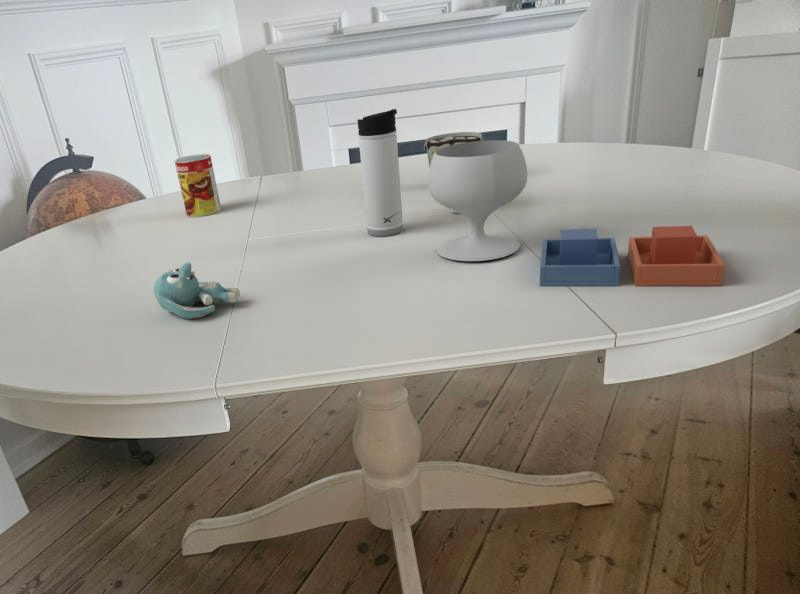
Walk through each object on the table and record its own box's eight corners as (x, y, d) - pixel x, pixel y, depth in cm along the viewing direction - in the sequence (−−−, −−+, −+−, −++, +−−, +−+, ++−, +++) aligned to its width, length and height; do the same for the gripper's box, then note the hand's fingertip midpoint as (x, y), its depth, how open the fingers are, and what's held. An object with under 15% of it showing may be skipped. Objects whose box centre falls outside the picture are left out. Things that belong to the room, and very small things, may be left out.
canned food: (184, 212, 145) (172, 158, 140) (218, 205, 147) (207, 152, 141) (189, 219, 138) (176, 163, 133) (224, 212, 140) (213, 156, 135)
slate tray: (613, 255, 87) (614, 237, 86) (618, 286, 78) (620, 266, 76) (542, 256, 90) (543, 239, 89) (539, 286, 81) (540, 266, 80)
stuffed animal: (229, 281, 81) (138, 272, 82) (229, 331, 85) (142, 322, 85) (246, 254, 91) (165, 247, 91) (246, 300, 94) (167, 293, 95)
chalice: (540, 257, 90) (543, 148, 83) (443, 271, 90) (439, 164, 83) (507, 231, 102) (508, 134, 95) (422, 243, 102) (417, 148, 95)
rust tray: (704, 254, 83) (707, 235, 82) (721, 286, 74) (725, 265, 73) (627, 255, 86) (629, 237, 85) (634, 286, 77) (636, 265, 76)
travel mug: (396, 237, 107) (387, 112, 98) (361, 236, 110) (349, 115, 101) (410, 226, 112) (402, 106, 102) (376, 225, 115) (366, 109, 106)
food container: (483, 177, 138) (482, 129, 133) (484, 183, 132) (484, 133, 128) (426, 182, 140) (423, 135, 136) (425, 188, 135) (423, 140, 130)
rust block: (687, 259, 81) (691, 225, 79) (692, 271, 77) (697, 236, 75) (648, 259, 82) (652, 226, 80) (652, 271, 79) (656, 237, 77)
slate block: (594, 260, 85) (596, 228, 83) (595, 271, 81) (598, 238, 79) (559, 260, 86) (560, 229, 84) (559, 272, 82) (560, 239, 80)
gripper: (824, -171, 59) (792, -3, 65) (767, -134, 76) (746, -2, 82) (745, -155, 61) (722, 7, 67) (707, -122, 78) (691, 5, 84)
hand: (735, 2), depth 75 cm, fingers open, 8 cm apart
